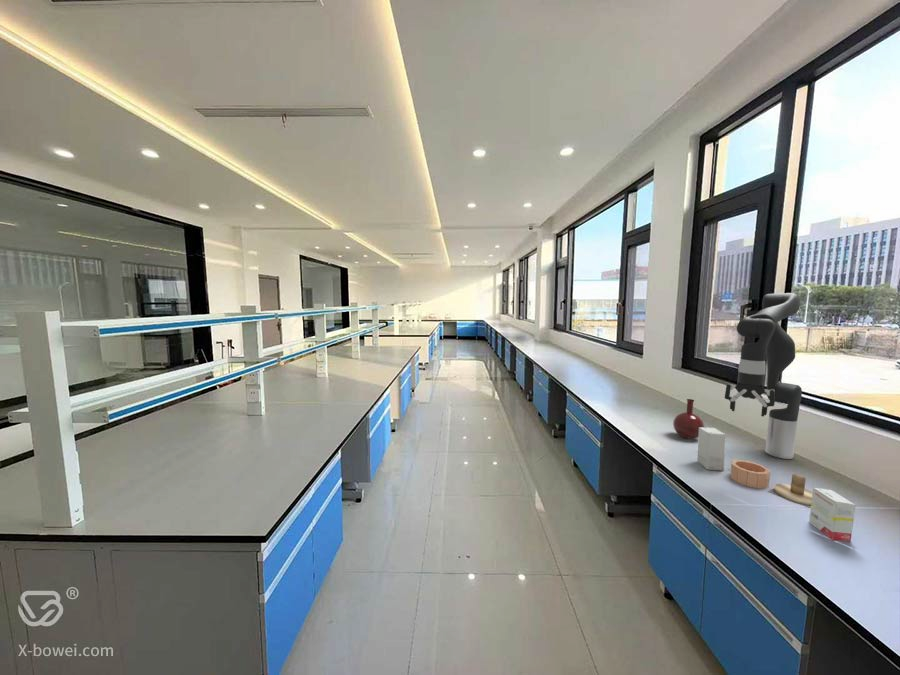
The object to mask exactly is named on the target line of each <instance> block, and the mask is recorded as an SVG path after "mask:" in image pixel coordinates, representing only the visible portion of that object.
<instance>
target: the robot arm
mask: <svg viewBox="0 0 900 675" xmlns="http://www.w3.org/2000/svg"><path fill="white" fill-rule="evenodd" d="M800 306H801V298H800V296H799V294H796V293H793V292H786V293H785V292H780V293H778V292H777V293H766V294H764V295H763V298H762V303H761V307H762V309H760V310H759V311H757V312H756V313H755V314H752V315H749V316H748V315H747V316H745V317H743V318H741V320H739V321H738V323H737V325H736V332H737V333H738V334H739V335H740V336H742V337H746V338H759V339H758V341H757V342H751V343H744V344H742V345H741V350H740V359H739V364H738V368H737V369H738V372H737V373H738V375H737V383H736V384H731V383H729V382H728V383H726V387H725V393H724V399H725V400H728V401H729V402H730V403H729V409H730V410H731V411H732V412H735V411H736V400H738V399H739V398H740V397H742V398H745V399H746V398H747V399H752V400H757V401H758V402H759V403H760V404H761V405H762V406H761V414H760V416H761V417H765V416H766V415H767V414H768V407H775V405H776V404H775V403H780V404H784V405H787V406H786V407H783V408H774V409H770V410H769V414H768V423H767V434H766V440H765V441H766V442H765V453H766V454H767V455H769V456H772V457H775V458H779V459H783V460H784V459H785V460H791V459H793V458H794V455H795V454H794V452H795V444H796V436H797V427H798V426H797V425H798V417H799V411H800V406H801V401H802V395H803V389H802V387H801V386H800V385H797V384H793V383H786V382H783V381H782V382H780V376H781V374H782V373H783V371H785V369H787V368H788V367H789V366H790V365H791V364H792V363H793V361H794V360H795V359H796V343H795V341H794V339H793V338H792V337H791V336H790V334H789V333H788V332H786V331H785V330H784V329H783V328H782V326H781V325H780V324H779V322H780V321H782V320H784V319H786V318H789V317H791V316H794V315H796V314H797V313H798V312H799V310H800ZM766 363H767V365H766ZM766 366H767V367H766ZM766 368H767V375H766ZM765 376H766V380H767V381H766V388H765ZM734 389H736V391H737V393H736V394H735V395H733V396H732V395H731V396H730V394H731V391H732V390H734ZM765 393H766V396H767V398H768V400H769V401H768V402H767V401H766V400H765V398H764V396H762V395H763V394H765Z"/></svg>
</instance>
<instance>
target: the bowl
mask: <svg viewBox="0 0 900 675" xmlns="http://www.w3.org/2000/svg"><path fill="white" fill-rule="evenodd" d="M729 476H730V479H731V480H733V481H735V482H736V483H738V484H741V485H744V486H746V487H750V488H754V489H767V488H768V487H770V486H769V485H770V477H771V471H770V469H769V468H768V467H767V466H766V467H765V466H764V465H761V464H758V463H757V462H753V461H747V460H742V459H741V460H740V459H735V460H732V461H731V464H730V474H729Z"/></svg>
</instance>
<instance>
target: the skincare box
mask: <svg viewBox="0 0 900 675" xmlns="http://www.w3.org/2000/svg"><path fill="white" fill-rule="evenodd" d="M697 439H698V441H697V442H698V443H697V460H696V461H697V462H698V463H699V464H700V465H701V466H703V467H704V468H705V469H706V470H709V471H711V470H712V471H719V472H721V471H724V466H725V450H726V449H725V448H726V433H723V431H720V430H719V429H717V428H715V427H705V428H703V427H699V437H698V438H697Z"/></svg>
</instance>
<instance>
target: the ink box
mask: <svg viewBox="0 0 900 675" xmlns="http://www.w3.org/2000/svg"><path fill="white" fill-rule="evenodd" d="M812 492H813V495H812V502H811V508H810V512H809V521H808V522H809V523H810V524H811V525H813V526H814V527H815V529H818V530H819V531H820V532H821V533H823V534H824V535H826V536H827V538H829V539H830V540H832V541H841V542H852V533H853V526H854V521H855V520H854V519H855V513H856V504H855V503H853V502H851V501H849V500H848V499H847V498H845V497H843V495H840V494H839V493H837V492H835V491H834V490H832V489H826V488H821V487H820V488H819V487H813V488H812Z"/></svg>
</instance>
